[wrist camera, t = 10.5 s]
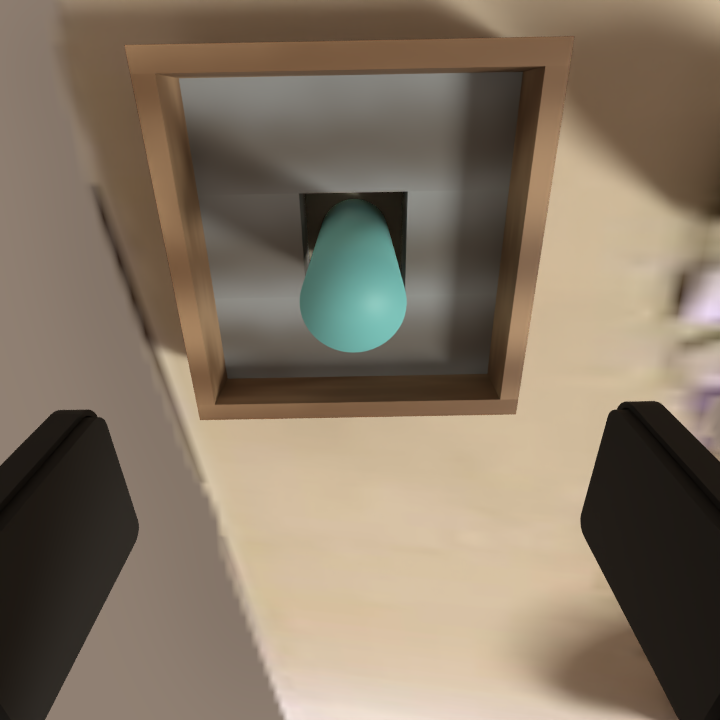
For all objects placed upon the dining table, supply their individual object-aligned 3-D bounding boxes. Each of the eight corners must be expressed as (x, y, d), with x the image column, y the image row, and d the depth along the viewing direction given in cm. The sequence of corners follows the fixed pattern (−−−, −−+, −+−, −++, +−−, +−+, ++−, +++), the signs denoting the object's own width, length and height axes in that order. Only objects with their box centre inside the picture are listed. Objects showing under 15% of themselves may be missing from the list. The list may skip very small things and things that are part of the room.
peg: (319, 199, 28) (295, 252, 17) (388, 198, 28) (408, 250, 17) (322, 267, 30) (303, 353, 19) (387, 266, 30) (405, 351, 19)
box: (174, 60, 25) (124, 44, 19) (527, 53, 25) (574, 36, 19) (225, 370, 33) (200, 420, 27) (489, 365, 33) (515, 414, 27)
